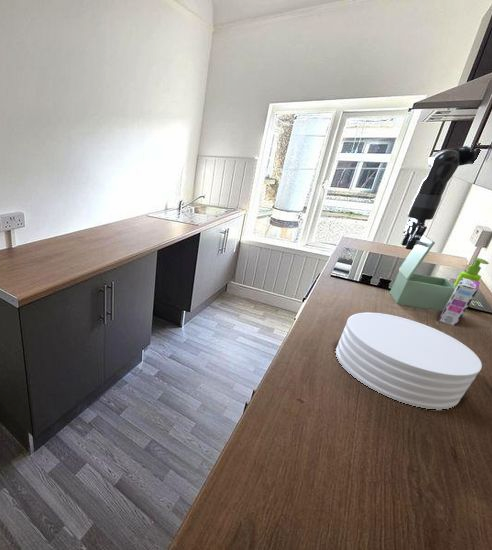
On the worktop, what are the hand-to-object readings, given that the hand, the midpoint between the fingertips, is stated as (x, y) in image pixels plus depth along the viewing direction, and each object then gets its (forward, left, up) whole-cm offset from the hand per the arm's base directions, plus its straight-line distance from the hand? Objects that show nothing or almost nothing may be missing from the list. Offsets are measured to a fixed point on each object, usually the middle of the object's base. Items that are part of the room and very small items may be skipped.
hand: (406, 247), depth 121 cm
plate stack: (+10, +60, -23) cm, 65 cm away
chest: (-11, 0, -23) cm, 25 cm away
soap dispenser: (-27, -9, -23) cm, 37 cm away
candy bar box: (-17, +14, -23) cm, 32 cm away
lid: (-5, 0, -4) cm, 6 cm away
